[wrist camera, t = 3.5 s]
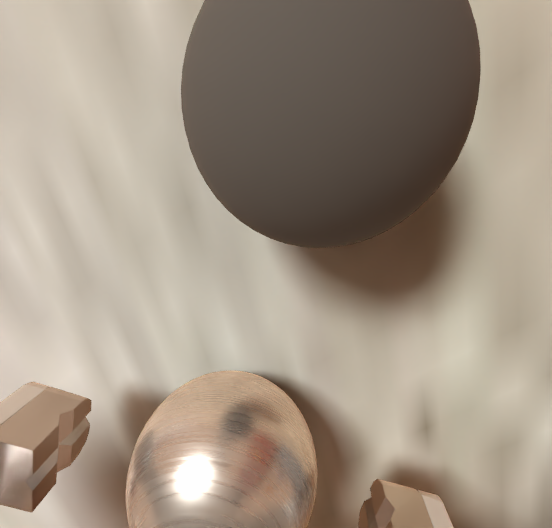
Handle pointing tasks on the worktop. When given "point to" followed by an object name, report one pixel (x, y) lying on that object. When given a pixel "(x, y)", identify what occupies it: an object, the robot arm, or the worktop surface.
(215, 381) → the steel ball
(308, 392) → the worktop surface
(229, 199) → the black rubber ball
